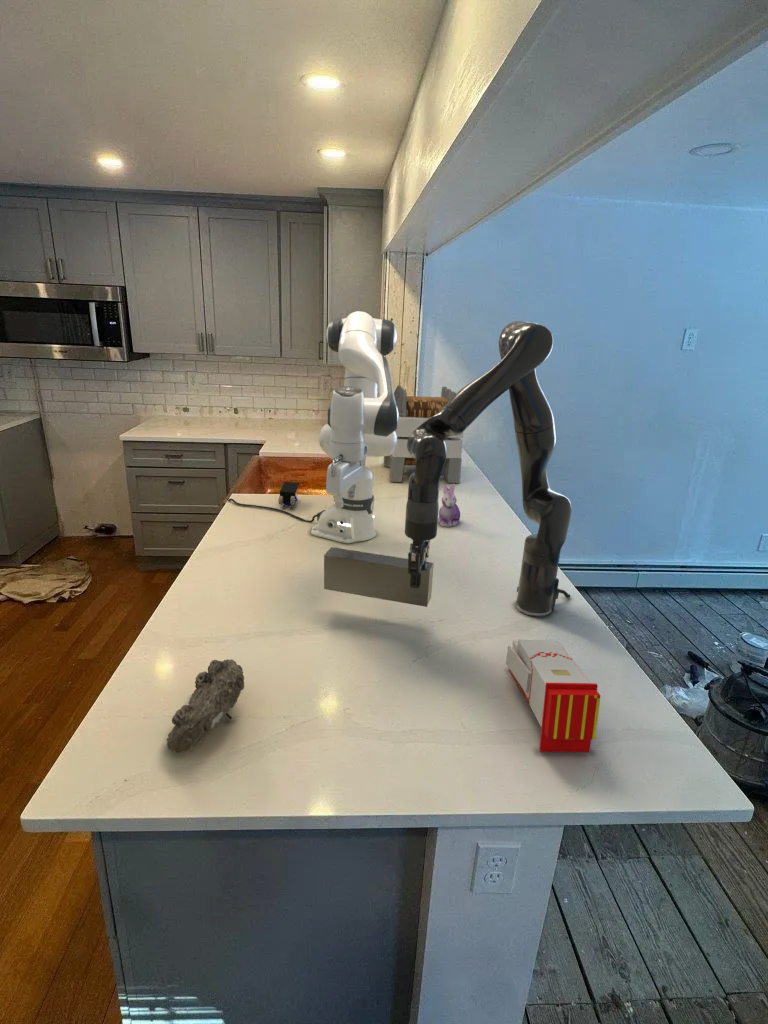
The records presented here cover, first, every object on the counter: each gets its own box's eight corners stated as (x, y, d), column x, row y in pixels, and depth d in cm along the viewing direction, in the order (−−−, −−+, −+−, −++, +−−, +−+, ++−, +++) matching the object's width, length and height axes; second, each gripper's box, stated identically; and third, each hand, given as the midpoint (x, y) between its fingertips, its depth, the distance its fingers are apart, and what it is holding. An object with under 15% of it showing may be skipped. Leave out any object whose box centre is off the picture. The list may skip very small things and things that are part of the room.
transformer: (382, 463, 289) (386, 382, 275) (445, 464, 293) (451, 384, 279) (390, 482, 257) (394, 392, 243) (460, 483, 261) (468, 394, 247)
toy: (554, 622, 128) (610, 691, 98) (548, 677, 130) (601, 759, 101) (501, 621, 127) (541, 690, 98) (496, 676, 130) (534, 758, 101)
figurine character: (295, 514, 218) (300, 497, 231) (295, 496, 214) (299, 480, 228) (278, 513, 217) (283, 497, 231) (277, 495, 214) (283, 480, 227)
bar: (323, 589, 142) (324, 554, 139) (331, 580, 147) (331, 546, 144) (427, 607, 136) (429, 571, 133) (431, 597, 140) (433, 562, 137)
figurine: (445, 529, 206) (449, 489, 200) (430, 519, 214) (433, 481, 209) (467, 525, 210) (470, 487, 205) (451, 516, 218) (454, 479, 213)
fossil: (192, 660, 117) (244, 628, 112) (224, 691, 120) (276, 661, 115) (142, 746, 98) (202, 712, 93) (182, 779, 101) (242, 748, 96)
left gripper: (344, 461, 135) (343, 515, 140) (370, 445, 154) (368, 494, 158) (319, 458, 137) (319, 512, 141) (348, 443, 156) (346, 491, 160)
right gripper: (431, 529, 124) (426, 598, 130) (443, 508, 137) (438, 572, 143) (398, 524, 126) (394, 592, 132) (413, 505, 139) (409, 567, 145)
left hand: (345, 502), depth 150 cm, fingers open, 8 cm apart
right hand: (417, 581), depth 137 cm, fingers closed on bar, 5 cm apart
